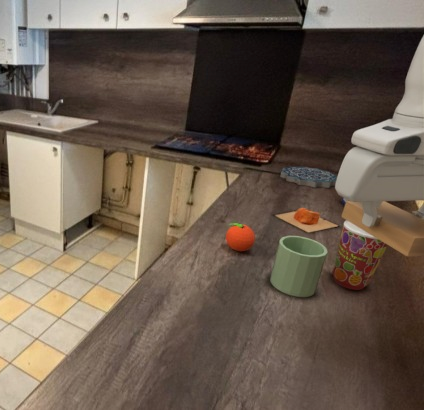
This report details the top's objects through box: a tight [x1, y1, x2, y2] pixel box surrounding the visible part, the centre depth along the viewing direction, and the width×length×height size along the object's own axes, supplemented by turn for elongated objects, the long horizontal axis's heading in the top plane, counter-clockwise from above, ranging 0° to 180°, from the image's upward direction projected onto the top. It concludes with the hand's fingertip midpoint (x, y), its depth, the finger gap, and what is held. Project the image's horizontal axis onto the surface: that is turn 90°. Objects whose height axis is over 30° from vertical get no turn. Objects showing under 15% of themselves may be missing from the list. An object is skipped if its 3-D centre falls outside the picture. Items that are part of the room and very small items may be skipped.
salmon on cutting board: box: [274, 207, 339, 233], centre depth 108 cm, size 12×12×4 cm
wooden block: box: [340, 201, 424, 258], centre depth 56 cm, size 6×13×3 cm, turn 3°
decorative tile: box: [279, 165, 338, 189], centre depth 143 cm, size 20×20×2 cm
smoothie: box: [331, 219, 389, 291], centre depth 76 cm, size 8×8×20 cm
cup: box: [269, 235, 329, 298], centre depth 78 cm, size 9×9×10 cm
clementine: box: [224, 222, 256, 252], centre depth 93 cm, size 8×7×7 cm
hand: (393, 224), depth 56 cm, fingers closed on wooden block, 6 cm apart
